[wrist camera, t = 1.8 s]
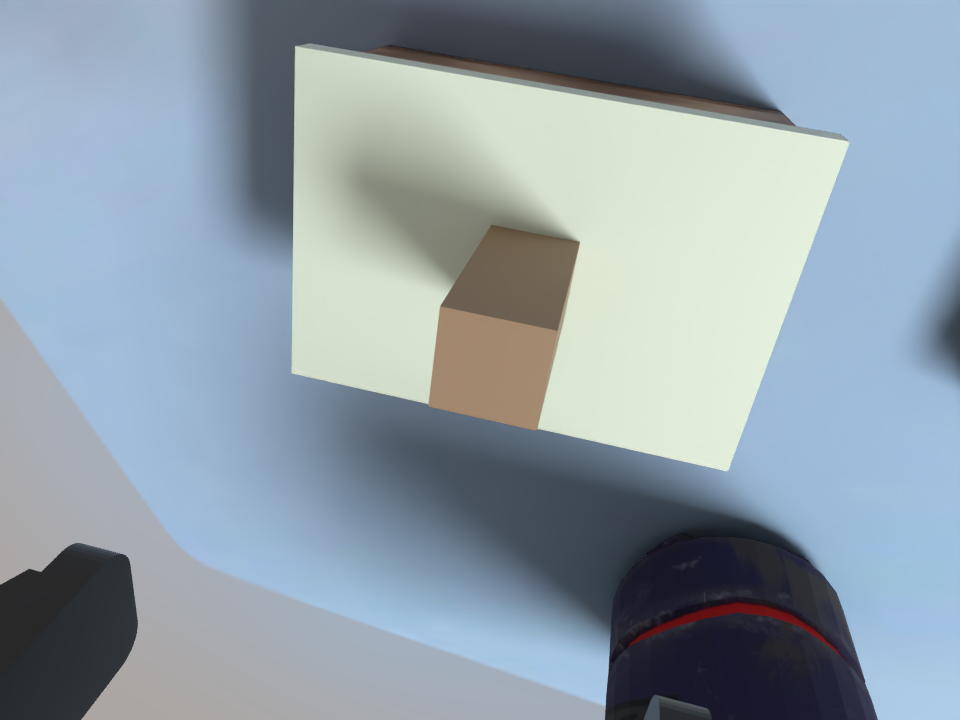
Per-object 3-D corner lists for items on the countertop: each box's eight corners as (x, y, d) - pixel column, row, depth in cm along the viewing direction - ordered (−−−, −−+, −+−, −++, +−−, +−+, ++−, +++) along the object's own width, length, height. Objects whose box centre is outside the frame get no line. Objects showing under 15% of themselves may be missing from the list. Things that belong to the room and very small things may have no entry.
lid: (836, 130, 23) (931, 207, 15) (723, 444, 29) (751, 615, 21) (317, 41, 25) (169, 70, 17) (309, 353, 30) (196, 478, 23)
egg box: (781, 111, 29) (817, 147, 23) (703, 356, 34) (715, 439, 28) (388, 45, 30) (324, 62, 24) (372, 287, 36) (315, 351, 30)
